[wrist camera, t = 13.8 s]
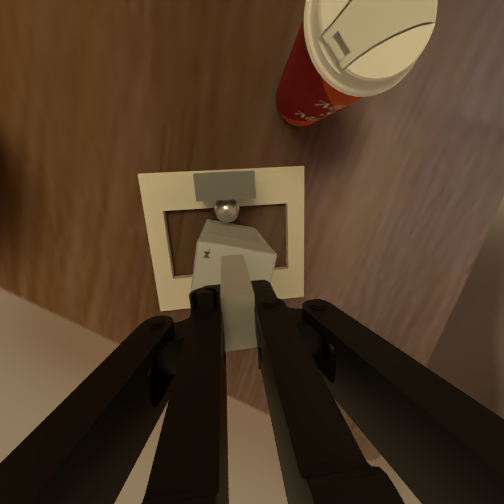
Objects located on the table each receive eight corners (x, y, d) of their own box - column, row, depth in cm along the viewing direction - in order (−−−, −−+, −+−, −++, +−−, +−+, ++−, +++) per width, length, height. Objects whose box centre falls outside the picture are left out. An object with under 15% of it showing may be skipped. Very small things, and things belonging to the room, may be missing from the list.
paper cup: (295, 152, 28) (363, 118, 14) (251, 93, 26) (281, -12, 12) (348, 103, 27) (473, 20, 14) (308, 38, 25) (406, -135, 12)
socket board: (140, 174, 26) (120, 170, 21) (301, 166, 28) (319, 161, 23) (162, 307, 31) (149, 332, 25) (301, 293, 32) (316, 314, 27)
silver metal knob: (211, 177, 25) (210, 176, 23) (236, 176, 26) (238, 175, 23) (215, 221, 26) (215, 225, 24) (239, 220, 27) (241, 223, 24)
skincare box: (201, 252, 29) (187, 294, 18) (206, 218, 28) (195, 238, 17) (250, 260, 30) (266, 304, 19) (257, 227, 29) (278, 252, 18)
